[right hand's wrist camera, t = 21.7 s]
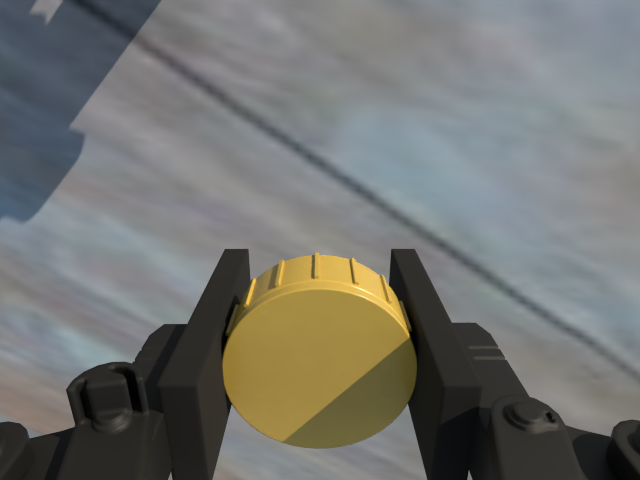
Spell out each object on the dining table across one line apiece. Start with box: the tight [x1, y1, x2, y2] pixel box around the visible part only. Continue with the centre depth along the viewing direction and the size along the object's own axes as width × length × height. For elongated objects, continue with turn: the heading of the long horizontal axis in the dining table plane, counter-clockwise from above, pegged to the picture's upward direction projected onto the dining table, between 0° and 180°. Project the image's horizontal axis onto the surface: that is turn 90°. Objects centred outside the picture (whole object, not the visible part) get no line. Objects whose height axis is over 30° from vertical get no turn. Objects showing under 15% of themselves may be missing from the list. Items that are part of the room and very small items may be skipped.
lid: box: [222, 253, 417, 448], centre depth 11 cm, size 5×5×2 cm
